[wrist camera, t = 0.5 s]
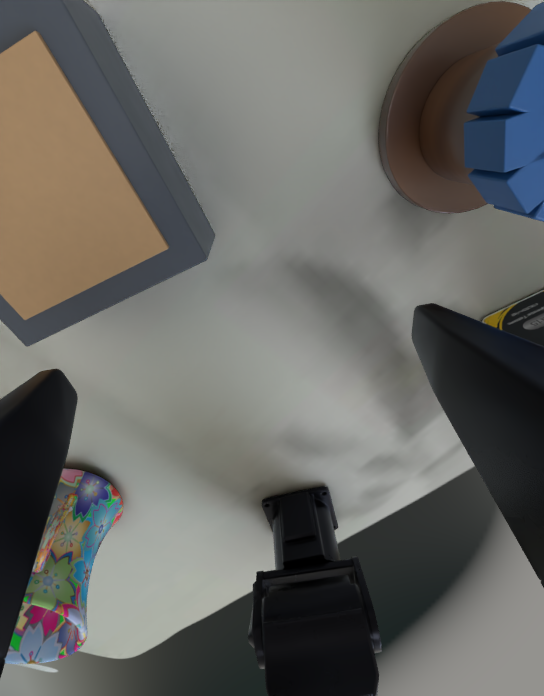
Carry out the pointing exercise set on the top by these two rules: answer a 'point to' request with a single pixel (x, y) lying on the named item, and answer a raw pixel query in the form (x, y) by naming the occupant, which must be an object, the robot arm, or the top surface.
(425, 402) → the top surface
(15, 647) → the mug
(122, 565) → the top surface
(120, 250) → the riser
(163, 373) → the top surface
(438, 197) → the stand
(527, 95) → the ring
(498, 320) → the medicine bottle
